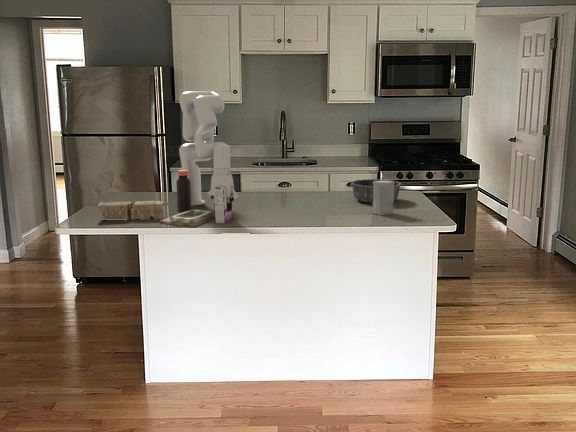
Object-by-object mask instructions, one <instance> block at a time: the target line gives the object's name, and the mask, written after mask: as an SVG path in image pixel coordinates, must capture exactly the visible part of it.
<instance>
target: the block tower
mask: <svg viewBox="0 0 576 432" xmlns="http://www.w3.org/2000/svg"><path fill="white" fill-rule="evenodd" d="M97 208H98V209H97V210H98V211H99V212H100V211H101V220H102V219H128V218H131V219H140V220H139V221H142V220H143V221H144V220H145V221H148V219H149V220H151V218H152V217H153V220H163V219H164V201H161V200H145V201H144V200H143V201H142V200H141V201H140V200H139V201H137V200H136V201H135V202H134V203H133V201H114V202H113V201H112V202H104V201H100V202H99V203H98V205H97ZM152 215H153V216H152ZM131 219H130V220H131ZM128 220H129V219H128Z"/></svg>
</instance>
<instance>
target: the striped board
mask: <svg viewBox="0 0 576 432" xmlns="http://www.w3.org/2000/svg"><path fill="white" fill-rule="evenodd" d="M213 220H215V210H214V211H213V210H204V209H203V210H202V209H201V210H200V209H192V208H191V210H189V211H186V212H181V213H177V214H174V215H171V216H169V217H167V218H163V219H159V224H164V225H172V226H173V225H174V226H181V227H182V226H183V227H189V228H191V227H192V228H194V227H196V226H199V225H202V224H205V223H207V222H210V221H213Z"/></svg>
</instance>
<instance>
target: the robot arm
mask: <svg viewBox="0 0 576 432" xmlns="http://www.w3.org/2000/svg"><path fill="white" fill-rule="evenodd" d="M179 105H180V108H181V111H182V112H181V113H182V139H184V140H185V141H186V143H183V144H181V145H180V147H179V149H178V151H179V152H178V153H179V159H180V164H181V170H188V176H187V178H188V179H189V180H190V189H191V207H193V206H199V205H204V204H205V200H204V199H202V183H201V182H202V180H201V177H202V175H201V174H202V173H201V169H200V167H199V165H198V164H197V162H207V161H211V160H213V168H211V172H213V174H212V175H211V180H210V190H209V191H208V192H207V194H208V196H209V197H210V198H211V200H212V202H213V204H214V205H213V206H214V207H213V208H214V209H215V201H214V188H215V187H224V188H225V195H226V197H227V201H228V203H227V212H229V211H233V203H234V201H235V200H236V199H237V198H238V197H239V194H238V193H237V192H236V190H235V186H234V179H233V175H232V174H231V147H230V144H227V143H225V142H223V141H216V142H214V141H215V130H214V129H215V128H216V127H217V126H218V120H217V117H216V114H218V113H219V114H221V113H223V111H224V110H225V100H224V99H223V97H222V96H221V95H220V94H218V93H217V92H216V91H212V90H211V91H210V90H207V91H206V90H205V91H204V90H203V91H202V90H200V91H199V90H196V91H195V90H192V91H191V90H190V91H184V92H181V94H180V97H179ZM189 142H190V143H189Z"/></svg>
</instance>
